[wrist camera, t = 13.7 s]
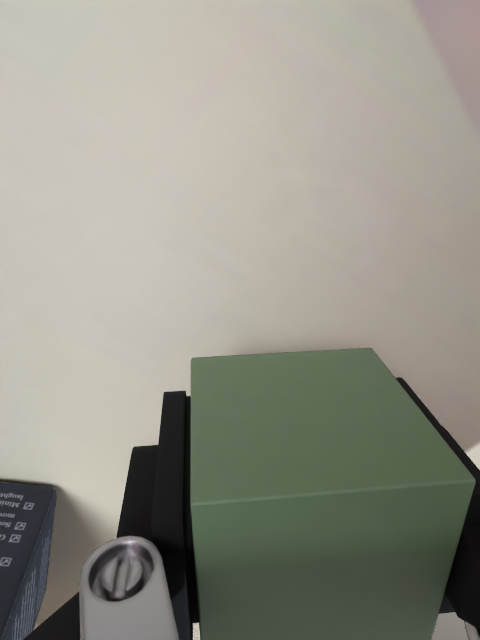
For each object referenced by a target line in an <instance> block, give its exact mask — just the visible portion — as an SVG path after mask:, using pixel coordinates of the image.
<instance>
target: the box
mask: <svg viewBox="0 0 480 640" xmlns="http://www.w3.org/2000/svg"><path fill="white" fill-rule="evenodd" d="M55 506H56V490H55V488H54V487H51V486H45V485H32V484H21V483H10V482H0V640H23V639H24V638H25V637H27V636H28V635H29V634H30V633H31V632H32V631H33V628H34V625H35V622H36V619H37V616H38V613H39V610H40V606H41V603H42V600H43V596H44V593H45V590H46V584H47V574H48V566H49V556H50V547H51V538H52V530H53V521H54V513H55Z"/></svg>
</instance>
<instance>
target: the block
mask: <svg viewBox="0 0 480 640" xmlns="http://www.w3.org/2000/svg"><path fill="white" fill-rule="evenodd" d="M474 486H475V478H474V477H473V476H472V475H471V473H470V472H469V471H468V469H467V468H466V467H465V466H464V464H463V463H462V462H461V461H460V459H459V458H458V457H457V456H456V454H455V453H454V452H453V451H452V449H451V448H450V447H449V445H448V444H447V443H446V442H445V440H444V439H443V438H442V437H441V435H440V434H439V433H438V432H437V430H436V429H435V428H434V426H433V425H432V424H431V423H430V421H429V420H428V419H427V418H426V416H425V415H424V414H423V413H422V411H421V410H420V409H419V408H418V406H417V405H416V404H415V402H414V401H413V400H412V399H411V397H410V396H409V395H408V394H407V392H406V391H405V390H404V389H403V387H402V386H401V385H400V384H399V382H398V381H397V380H396V378H395V377H394V376H393V375H392V373H391V372H390V371H389V370H388V368H387V367H386V366H385V365H384V363H383V362H382V361H381V360H380V358H379V357H378V356H377V354H376V353H375V352H374V351H373V349H372V348H358V349H340V350H322V351H304V352H286V353H269V354H251V355H233V356H215V357H197V358H192V359H191V476H190V505H191V519H192V532H193V546H194V559H195V573H196V586H197V600H198V613H199V627H200V640H431V639H432V634H433V632H434V628H435V625H436V621H437V617H438V614H439V610H440V607H441V603H442V600H443V596H444V593H445V589H446V585H447V582H448V578H449V575H450V571H451V568H452V564H453V560H454V557H455V553H456V550H457V546H458V543H459V539H460V535H461V532H462V528H463V525H464V521H465V518H466V514H467V511H468V507H469V503H470V500H471V496H472V493H473V489H474Z"/></svg>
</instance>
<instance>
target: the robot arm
mask: <svg viewBox="0 0 480 640" xmlns="http://www.w3.org/2000/svg"><path fill="white" fill-rule="evenodd" d="M396 380H397V381H398V382H399V384H400V385H401V386H402V387H403V389H404V390H405V391H406V392H407V394H408V395H409V396H410V397H411V399H412V400H413V401H414V402H415V404H416V405H417V406H418V408H419V409H420V410H421V411H422V413H423V414H424V415H425V416H426V418H427V419H428V420H429V421H430V423H431V424H432V425H433V426H434V428H435V429H436V430H437V432H438V433H439V434H440V435H441V437H442V438H443V439H444V440H445V442H446V443H447V444H448V445H449V447H450V448H451V449H452V451H453V452H454V453H455V454H456V456H457V457H458V458H459V459H460V461H461V462H462V463H463V464H464V466H465V467H466V468H467V469H468V471H469V472H470V473H471V475H472V476H473V477H474V478H475V486H474V489H473V493H472V496H471V500H470V503H469V507H468V511H467V514H466V518H465V521H464V525H463V528H462V532H461V535H460V539H459V543H458V546H457V550H456V553H455V557H454V560H453V564H452V568H451V571H450V575H449V578H448V582H447V585H446V589H445V593H444V596H443V600H442V603H441V607H440V610H439V614H440V613H449V612H456V614H457V616H458V617H459V618H461V619H462V620H464V623H465V629H466V632H467V635H468V639H469V640H480V470H479V469H478V468H477V467H476V465H475V464H474V463H473V462H472V461H471V459H470V458H469V457H468V456H467V455H466V453H465V452H464V451H463V450H462V448H461V447H460V446H459V445H458V444H457V442H456V441H455V440H454V439H453V438H452V436H451V435H450V434H449V433H448V431H447V430H446V429H445V428H444V427H442V426H441V425H440V423H439V422H438V421H437V420H436V418H435V417H434V416H433V415H432V414H431V412H430V411H429V410H428V409H427V407H426V406H425V405H424V404H423V403H422V401H421V400H420V399H419V398H418V396H417V395H416V394H415V393H414V392H413V390H412V389H411V388H410V387H409V385H408V384H407V383H406V382H405V381H404V379H402V378H400V377H399V378H396ZM190 476H191V396H186V391H174V392H164V396H163V405H162V415H161V425H160V435H159V445H152V446H138V447H134V448H133V450H132V454H131V460H130V465H129V471H128V476H127V482H126V487H125V493H124V499H123V504H122V510H121V515H120V521H119V526H118V532H117V537H116V539H113V540H111V541H109V542H106V543H105V544H103V545H102V546H100V547H99V548H98V549H96V550H95V551H94V552H93V553H92V555H91V556H90V557H89V558H88V559H87V560H86V562H85V564H84V566H83V568H82V570H81V574H80V581H79V592H78V593H77V594H76V595H75V596H74V597H72V598H71V599H70V600H69V601H68V602H66V603H65V604H64V605H63V606H62V607H61V608H59V609H58V610H57V611H56V612H55V613H54V614H52V615H51V616H50V617H49V618H48V619H47V620H45V621H44V622H43V623H42V624H41V625H40V626H38V627H37V628H36V629H35V630H34V631H32V632H31V633H30V634H29V635H28V636H27V637H25V638H24V639H23V640H193V623H198V622H199V613H198V600H197V586H196V573H195V559H194V546H193V532H192V519H191V505H190Z"/></svg>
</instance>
